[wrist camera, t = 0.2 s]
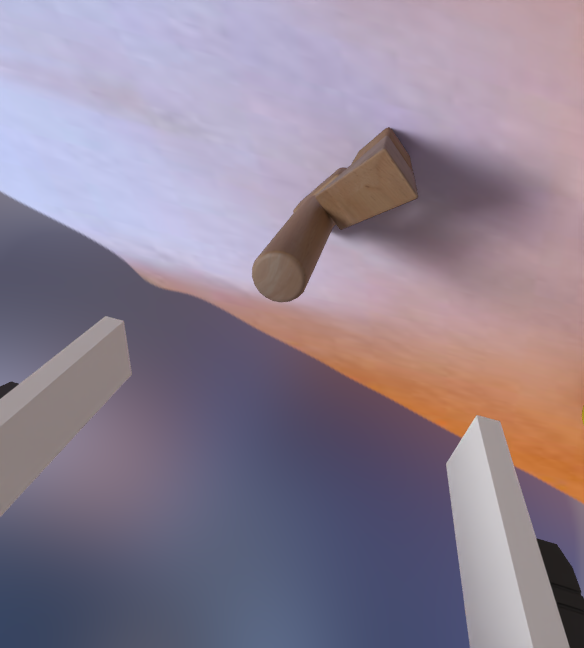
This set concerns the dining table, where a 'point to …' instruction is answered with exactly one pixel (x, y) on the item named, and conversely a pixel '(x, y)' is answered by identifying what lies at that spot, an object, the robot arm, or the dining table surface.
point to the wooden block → (334, 214)
